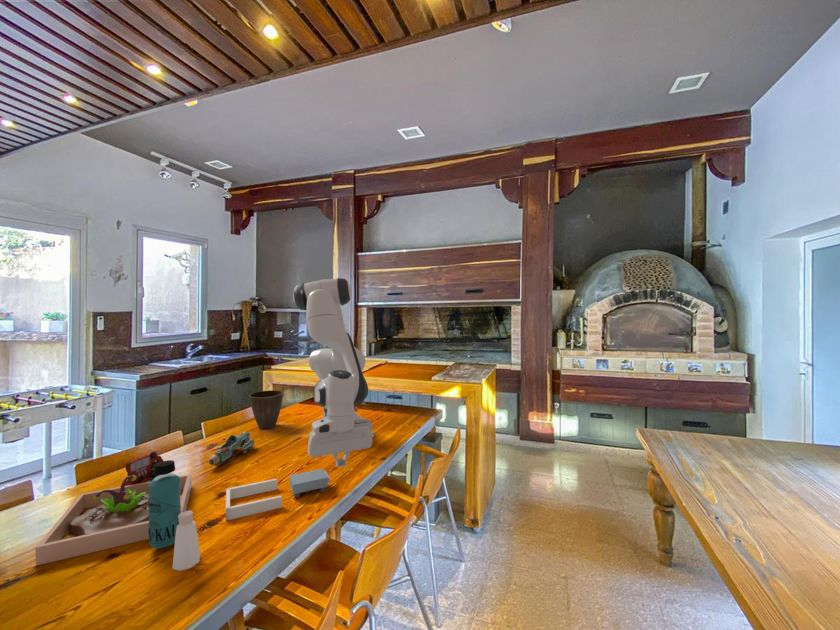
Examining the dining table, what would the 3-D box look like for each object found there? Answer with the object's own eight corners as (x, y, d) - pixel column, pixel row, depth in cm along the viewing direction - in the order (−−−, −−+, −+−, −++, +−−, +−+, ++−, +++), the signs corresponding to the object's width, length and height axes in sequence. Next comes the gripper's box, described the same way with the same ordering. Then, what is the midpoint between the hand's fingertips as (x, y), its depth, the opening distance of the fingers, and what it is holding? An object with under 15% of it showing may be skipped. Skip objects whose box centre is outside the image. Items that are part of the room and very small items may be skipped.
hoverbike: (259, 445, 154) (259, 425, 154) (223, 472, 129) (222, 448, 129) (237, 445, 154) (237, 425, 154) (197, 471, 129) (196, 447, 129)
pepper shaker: (192, 570, 79) (191, 519, 79) (166, 572, 79) (165, 520, 79) (205, 554, 85) (204, 506, 85) (180, 555, 84) (179, 507, 84)
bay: (276, 488, 116) (276, 478, 116) (281, 507, 105) (281, 496, 105) (226, 498, 110) (226, 488, 110) (225, 520, 98) (225, 509, 98)
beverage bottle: (159, 539, 91) (157, 457, 90) (188, 537, 91) (186, 456, 91) (141, 556, 84) (140, 469, 84) (172, 554, 85) (170, 467, 84)
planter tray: (191, 486, 118) (191, 474, 118) (181, 531, 94) (180, 515, 94) (80, 508, 106) (80, 494, 106) (35, 565, 81) (35, 547, 81)
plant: (182, 512, 104) (181, 472, 103) (93, 551, 87) (92, 504, 87) (147, 494, 114) (146, 458, 114) (61, 527, 97) (61, 484, 97)
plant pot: (276, 431, 171) (275, 397, 171) (244, 432, 171) (243, 397, 171) (288, 422, 186) (287, 390, 186) (258, 422, 186) (257, 390, 186)
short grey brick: (325, 481, 120) (324, 468, 120) (330, 491, 114) (329, 476, 114) (289, 489, 115) (289, 475, 115) (293, 499, 109) (293, 484, 109)
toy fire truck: (173, 479, 123) (173, 448, 123) (137, 498, 111) (136, 463, 111) (156, 477, 125) (156, 446, 125) (119, 495, 113) (118, 461, 113)
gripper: (368, 415, 126) (369, 456, 126) (306, 423, 117) (306, 467, 117) (375, 420, 120) (375, 463, 120) (310, 429, 111) (310, 475, 111)
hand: (341, 465), depth 118 cm, fingers closed
